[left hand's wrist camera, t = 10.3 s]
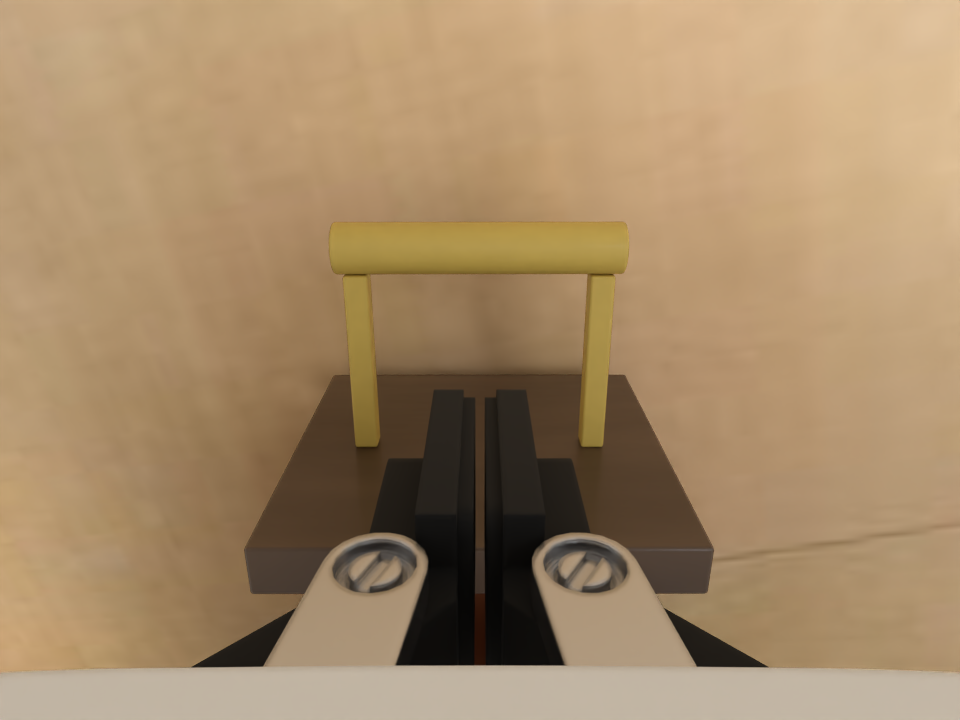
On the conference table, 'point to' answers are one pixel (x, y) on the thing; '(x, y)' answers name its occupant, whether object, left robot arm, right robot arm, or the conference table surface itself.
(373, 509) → the drawer
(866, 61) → the conference table surface
